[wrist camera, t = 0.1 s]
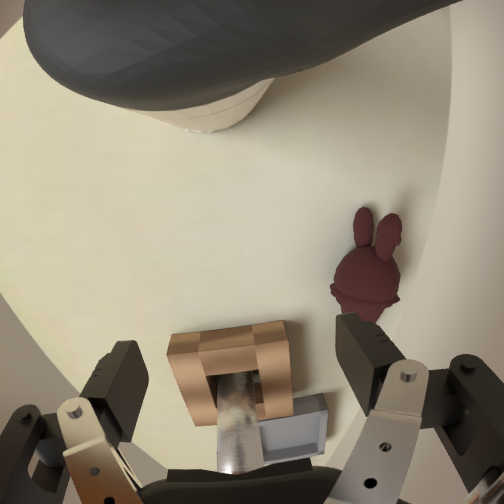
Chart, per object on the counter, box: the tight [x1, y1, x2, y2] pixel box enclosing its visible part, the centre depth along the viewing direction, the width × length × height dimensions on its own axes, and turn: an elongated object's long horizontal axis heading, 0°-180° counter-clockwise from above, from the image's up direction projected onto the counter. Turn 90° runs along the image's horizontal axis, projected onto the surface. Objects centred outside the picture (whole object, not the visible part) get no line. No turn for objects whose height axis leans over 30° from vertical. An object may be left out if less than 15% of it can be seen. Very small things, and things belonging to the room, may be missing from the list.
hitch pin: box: [217, 370, 264, 474], centre depth 25 cm, size 6×6×17 cm
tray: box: [259, 393, 328, 465], centre depth 37 cm, size 12×11×3 cm
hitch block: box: [167, 320, 293, 426], centre depth 32 cm, size 12×12×4 cm
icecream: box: [330, 207, 402, 323], centre depth 27 cm, size 7×7×15 cm
